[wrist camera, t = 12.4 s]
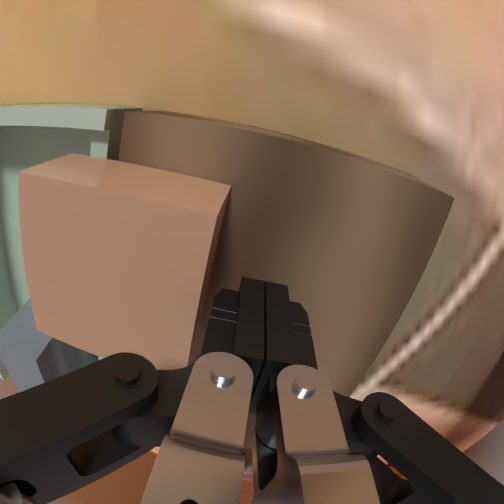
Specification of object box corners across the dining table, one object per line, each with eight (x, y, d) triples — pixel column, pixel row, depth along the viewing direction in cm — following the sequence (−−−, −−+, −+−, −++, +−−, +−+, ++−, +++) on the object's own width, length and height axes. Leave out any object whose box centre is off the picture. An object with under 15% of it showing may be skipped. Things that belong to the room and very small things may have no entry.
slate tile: (35, 360, 10) (-7, 338, 10) (64, 425, 13) (26, 406, 12) (89, 290, 16) (50, 277, 15) (98, 359, 18) (63, 346, 18)
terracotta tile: (231, 185, 9) (217, 215, 7) (199, 328, 12) (184, 383, 9) (72, 152, 9) (18, 171, 6) (72, 289, 12) (37, 330, 9)
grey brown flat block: (410, 174, 13) (454, 198, 9) (300, 409, 21) (303, 453, 17) (162, 110, 12) (125, 111, 8) (143, 380, 20) (127, 422, 16)
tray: (142, 108, 12) (85, 110, 8) (130, 376, 20) (109, 429, 15) (3, 105, 11) (-58, 116, 7) (26, 336, 19) (-3, 376, 15)
